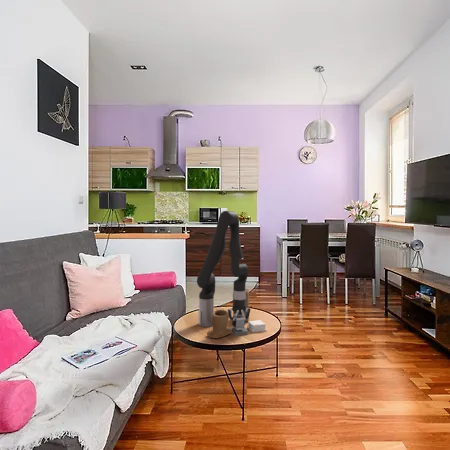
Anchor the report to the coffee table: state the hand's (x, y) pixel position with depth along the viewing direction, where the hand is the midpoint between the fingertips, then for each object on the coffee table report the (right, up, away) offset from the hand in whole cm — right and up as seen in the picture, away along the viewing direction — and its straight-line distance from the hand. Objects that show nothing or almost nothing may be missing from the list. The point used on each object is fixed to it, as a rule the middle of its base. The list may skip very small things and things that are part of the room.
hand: (238, 325), depth 207 cm
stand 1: (0, -4, 0) cm, 4 cm away
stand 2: (+11, -4, +6) cm, 13 cm away
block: (+2, -3, +24) cm, 24 cm away
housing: (0, -1, 0) cm, 1 cm away
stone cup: (-11, -5, -5) cm, 12 cm away
